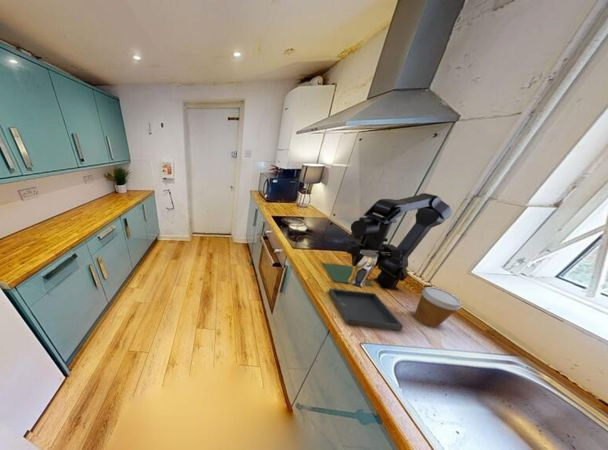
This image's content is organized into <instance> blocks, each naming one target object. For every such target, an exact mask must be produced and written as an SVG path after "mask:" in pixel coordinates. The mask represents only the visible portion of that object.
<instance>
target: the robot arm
mask: <svg viewBox="0 0 608 450" xmlns="http://www.w3.org/2000/svg"><path fill="white" fill-rule="evenodd" d="M415 210H417V211H416V213H415V215H414V216H415V223H414V224H413V225H412V227H411V228H410V229H409V231H408V232H407V233H406V234H405V236H404V237H403V239H402V240H400V243H399V244H398V245H397V246H395V245H394V244H391V243H390V244H389V243H387V242H388V241H389V239H388V238H387V236H388V233H389V231H390V229H391V227H392V225H393V224H396V223H397V222H398V221H397V219H398V218H400V217H402V216H403V215H404V213H407V212H410V211H415ZM452 214H453V210H452V208H451V206H450V205H449V204H447V203H446V202H444V201H443V200H442V198H441V197H440V196H439V195H436V194H431V193H426V192H424V193H423V192H422V193H419V194H417V195H412V196H407V197H404V198H399V199H394V198H381V199H378V200H377V201H376V202H374V204H372V206H370V207H369V209H368V210H367V211H366V212H365V213H364V214H363V216H361V217H359V219H358V220H354V221H353V222H352V223H351V225H350V231H351V232H350V238H351V239H354V241H350V240H349V241H348V240H344V241H342V242H341V246H340V247H341V248H342V249H343V250H344V251H345V253H346V254H350V255H351V262H352V263H351V266H356V264H357V263H358V261H359V260H360V258H361V256H362V255H361V254H360V252H361V250H362V251H373V252H375V253H376V254H378V256H379V257H378V260H377V263H376V266H375V268H377V269H378V270H380V271H379V272H380V273H378V275H377V277H374V278H373V280H374V281H375V282H376V283H377V284H378V285H379V286H380V287H381V289H384V290H392V291H393V290H395V291H399V288H398V287H397V286H398V284H399V282H400V281H401V282H404V281H405V280H406V279H407V278H408V276H409V274H408V271H407V268H408V267H409V257H410V256H411V254H412V253H413V252H414V251H415V250H416V249H417V247H418V246H419V245H420V243H421V242H422V241H423V239H424V238H425V237H426V236H427V235H428V233H429V232H430V231H431V230H432V229H433V228H435V227H437V226H440V225H443V223H445V221H446V220H449V219H450V217H451V216H452ZM355 241H357V242H358V243H359V244H357V243H356V242H355ZM385 242H386V243H385Z"/></svg>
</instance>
